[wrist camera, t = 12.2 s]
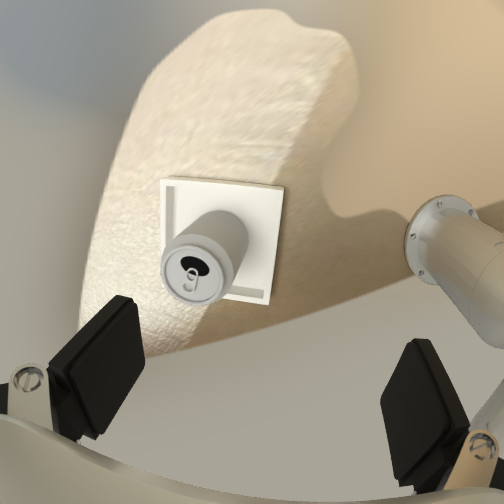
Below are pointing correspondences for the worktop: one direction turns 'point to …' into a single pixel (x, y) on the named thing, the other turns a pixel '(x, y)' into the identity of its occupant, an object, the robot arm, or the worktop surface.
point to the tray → (239, 205)
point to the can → (204, 258)
